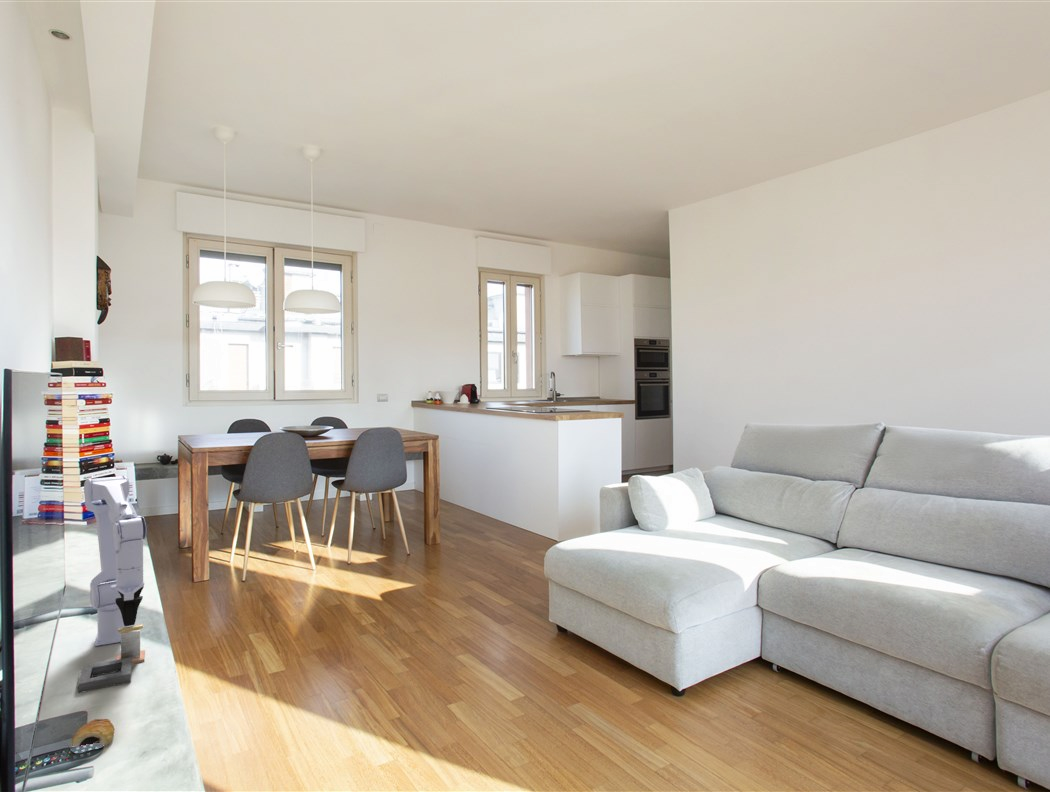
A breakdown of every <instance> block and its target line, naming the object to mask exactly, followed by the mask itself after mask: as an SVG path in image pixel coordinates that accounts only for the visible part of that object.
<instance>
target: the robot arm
mask: <svg viewBox="0 0 1050 792" xmlns="http://www.w3.org/2000/svg"><path fill="white" fill-rule="evenodd" d="M83 485H84V486H83V495H84V505H85V508H86V511H87V512H91V513H93V515H94V517H95V518H94V519H95V520H96V530H97V542H98V549H99V551H98V552H99V561H100V570H101V571H100V572H99V573H98V574H96V576H94V577H93V578H92V579H91V581H90V582H89V587H90V589H89V601H90V605H91V607H92V608H93V609H95V610H96V611H97V612H96V613H97V633H96V637H95V641H94V647H97V646H99V647H100V646H105V645H111V644H116V643H121V632H118V628H124V627H130V626H135V624H136V622H137V621H136V620H137V615H138V610H139V606H140V604H141V603H142V601H143V597H144V596H143V595H141V593H142V591H143V589H144V586H145V581H144V541H143V540H146V538H147V523H146V520H145V517H144V516H142V515H138V514H137V511H136V510H135V507H134V506H133V504H132V503H130V502H129V501H128V502H127V500H128V497H129V493H130V481H129V478H128V477H127V476H126V475H121V476H111V477H98V478H96V477H95V478H89V477H88V478H86V480H85V481H84V484H83Z"/></svg>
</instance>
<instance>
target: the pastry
mask: <svg viewBox="0 0 1050 792" xmlns="http://www.w3.org/2000/svg"><path fill="white" fill-rule="evenodd" d="M114 737H115V727H114V724H113V723H112V722H111V720H109V719H108V718H101V719H99V718H96V719H93V720H90V721H89V722H87V723H85V724H83V725H82V726H80V728H78V729H77V731H76V732H75V734H74V735H73V736H72V738H71V745H70V747H71V746H81V745H86V744H93V743H100V744H102V745H104V746H105V747H107V746H109V745H110V744H111V743H112V742H113V739H114ZM110 742H111V743H110ZM109 743H110V744H109ZM108 744H109V745H108ZM106 745H107V746H106Z"/></svg>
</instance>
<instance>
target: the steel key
mask: <svg viewBox="0 0 1050 792" xmlns="http://www.w3.org/2000/svg"><path fill="white" fill-rule="evenodd" d="M142 629H144V624H136V625H131V626H129V627H124V628H118V632H121V642H120V654H121V659H126V658H131V657H132V660H134V659H139V658H140V651H141V630H142Z"/></svg>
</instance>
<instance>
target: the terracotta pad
mask: <svg viewBox="0 0 1050 792" xmlns="http://www.w3.org/2000/svg"><path fill="white" fill-rule="evenodd" d="M145 653H146V650H145V649H142V650H140V658H139V659H134V660H132V665H133V664H138V663H144V662H145V657H146V656H145ZM120 659H121V653H120V654H117V655H116V659H115V660H120Z"/></svg>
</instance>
